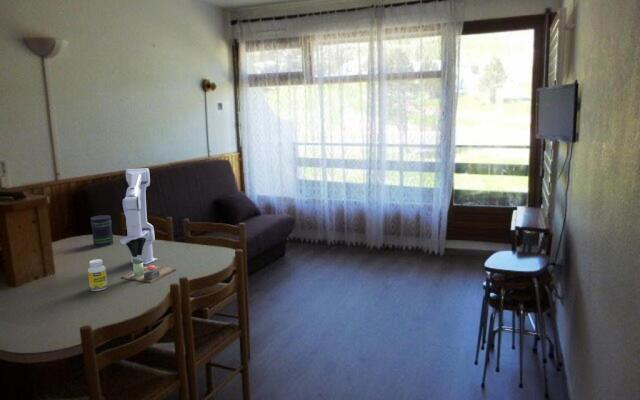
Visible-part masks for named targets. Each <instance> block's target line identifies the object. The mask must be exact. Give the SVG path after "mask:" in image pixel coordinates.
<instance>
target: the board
mask: <svg viewBox="0 0 640 400" xmlns="http://www.w3.org/2000/svg"><path fill="white" fill-rule="evenodd" d="M147 266H150V264H146V265H143V269H144V275H143V276H140V277H135V276H134V270H133V271H131V272H129V273H127V274H124V275H122V276H121V277H120V278H121V279H125V280H130V281H131V280H132V281H136V282H137V281H138V282H144V283H154V282H155V281H158V280H160V279H162V278H164V277H165V276H167V275H169V274H171V273H174V272H176V271H177V268H175V267H174V268H172V267H166V266H158V265H154V266H155V269H154V270H152V271H149V270H148V269H147Z"/></svg>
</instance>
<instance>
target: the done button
mask: <svg viewBox="0 0 640 400" xmlns="http://www.w3.org/2000/svg"><path fill="white" fill-rule="evenodd" d="M149 265H150V264H149ZM146 266H147V265H146ZM155 266H156V265H154V264H152V265H150V266H147V269H148V270H149V271H152V270H154V269H155Z"/></svg>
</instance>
